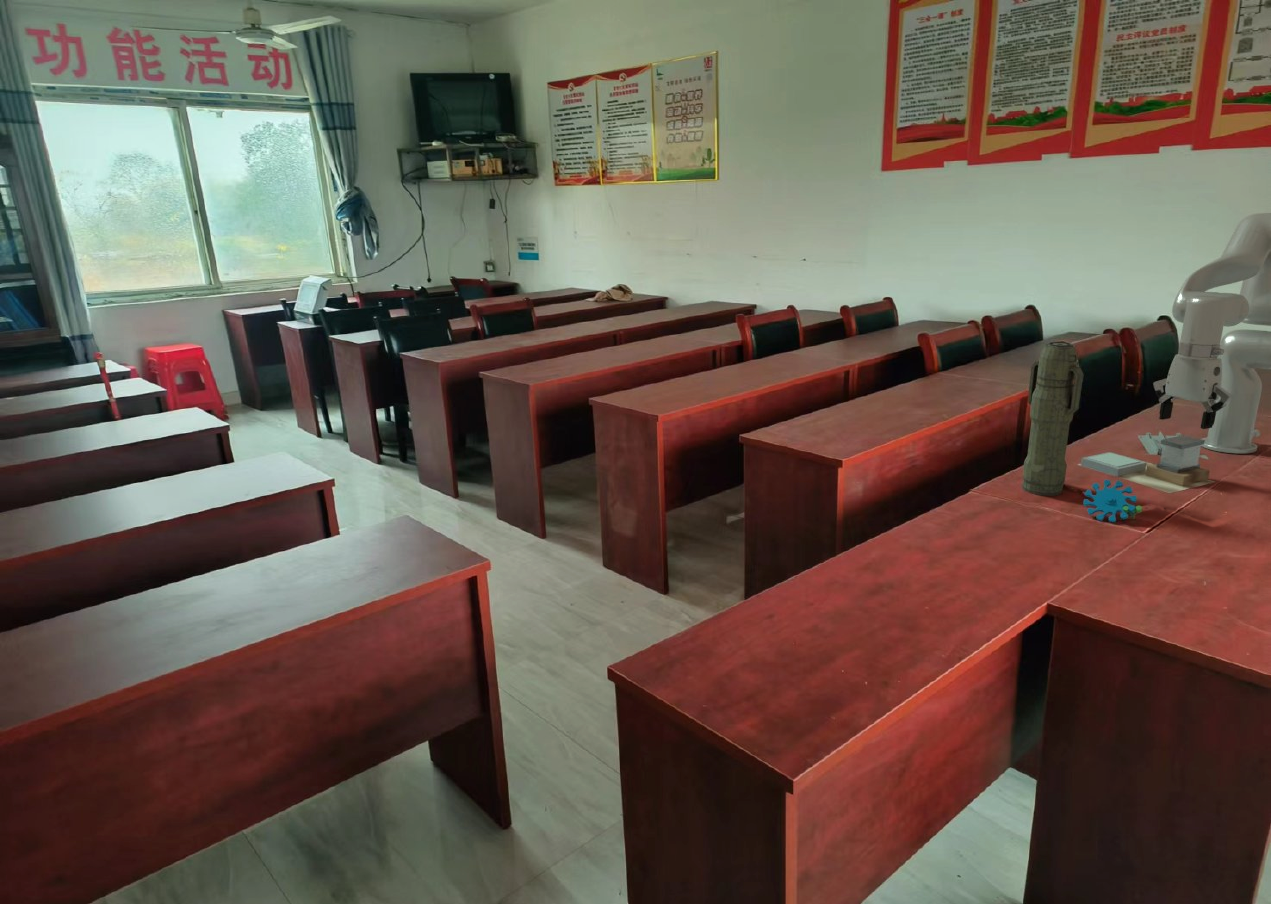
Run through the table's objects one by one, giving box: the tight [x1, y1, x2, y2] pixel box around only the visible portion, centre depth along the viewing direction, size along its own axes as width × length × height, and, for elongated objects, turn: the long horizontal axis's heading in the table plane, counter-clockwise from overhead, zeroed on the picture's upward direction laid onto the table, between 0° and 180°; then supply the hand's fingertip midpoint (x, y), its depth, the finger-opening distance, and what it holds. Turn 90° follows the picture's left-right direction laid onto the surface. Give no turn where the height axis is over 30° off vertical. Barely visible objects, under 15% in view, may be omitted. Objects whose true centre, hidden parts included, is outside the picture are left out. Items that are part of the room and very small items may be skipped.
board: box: [1077, 454, 1216, 494], centre depth 195 cm, size 16×24×1 cm, turn 23°
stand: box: [1145, 462, 1211, 487], centre depth 190 cm, size 9×9×2 cm
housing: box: [1156, 434, 1205, 474], centre depth 189 cm, size 8×5×7 cm, turn 113°
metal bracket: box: [1137, 431, 1209, 460], centre depth 210 cm, size 14×6×15 cm
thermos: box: [1021, 341, 1084, 497], centre depth 184 cm, size 9×12×35 cm
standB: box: [1080, 451, 1147, 478], centre depth 198 cm, size 10×10×2 cm
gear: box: [1083, 479, 1143, 523], centre depth 172 cm, size 11×6×10 cm
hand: (1185, 423), depth 186 cm, fingers open, 9 cm apart
